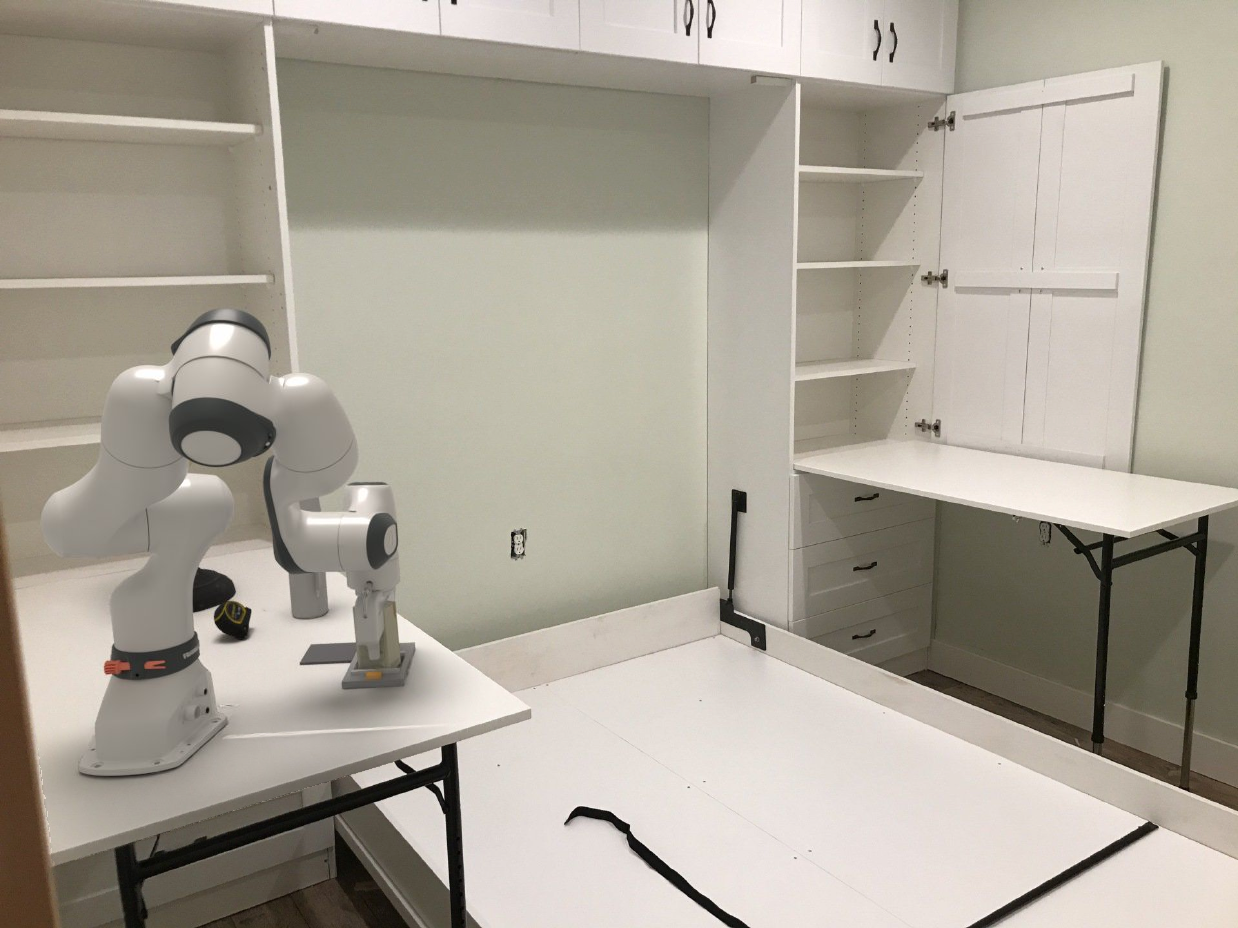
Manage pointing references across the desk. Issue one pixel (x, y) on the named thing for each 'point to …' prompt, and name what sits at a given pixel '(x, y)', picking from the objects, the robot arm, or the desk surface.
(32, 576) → the desk surface
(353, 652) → the mat
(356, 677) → the panel
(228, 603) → the tape measure
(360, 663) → the skincare box
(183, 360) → the robot arm
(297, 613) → the water bottle
